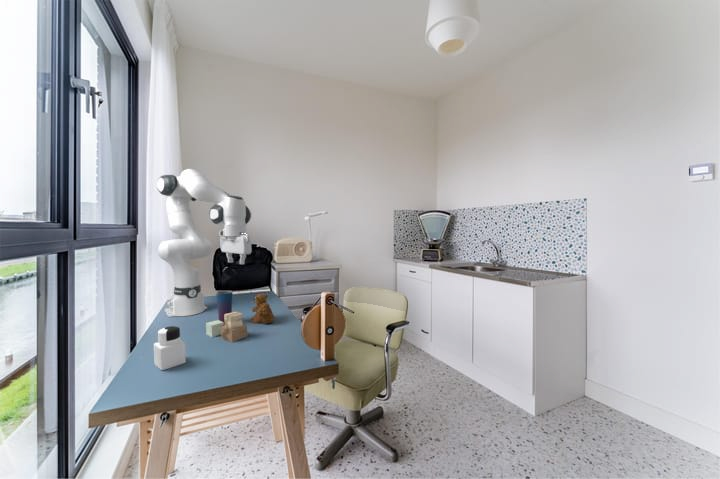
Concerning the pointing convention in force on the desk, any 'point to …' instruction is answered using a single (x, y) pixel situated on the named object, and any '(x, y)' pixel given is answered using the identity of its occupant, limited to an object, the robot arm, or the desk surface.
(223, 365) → the desk surface
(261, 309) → the brown teddy bear
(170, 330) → the medicine bottle
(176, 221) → the robot arm
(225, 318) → the oak cube
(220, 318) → the cup
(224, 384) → the desk surface
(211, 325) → the sage cube
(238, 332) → the walnut base
